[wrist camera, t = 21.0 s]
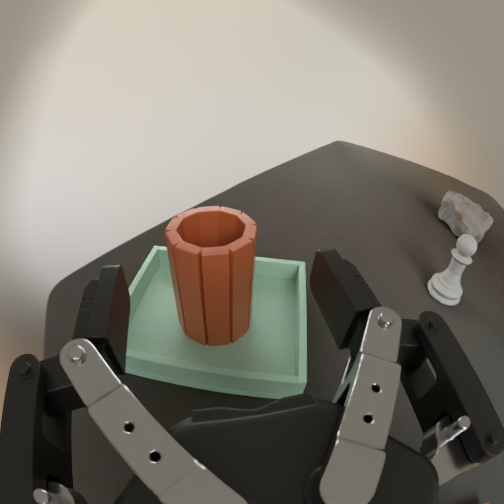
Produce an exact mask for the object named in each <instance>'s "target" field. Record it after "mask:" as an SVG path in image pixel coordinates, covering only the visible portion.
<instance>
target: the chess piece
mask: <svg viewBox="0 0 504 504" xmlns="http://www.w3.org/2000/svg"><path fill="white" fill-rule="evenodd" d="M456 246H457V249H456V248H455V249H452V250H451V253H452V256H453V257H452V260H451V262H450V265H449V267H448V268H447V269H446V270H445V271H444V272H441V273H435V274H434V275H433V276H432V279H430V280H429V281H428V290H429V293H430V295H431V296H432V297H433V298H434V299H435V300H436V301H437V302H439V303H441V304H443V305H446V306H453V305H456V304H458V303H459V301H460V296H461V295H462V293H463V290H462V287H461V284H460V278H461V274H462V272H463V270H464V269H465V267H466V265H468V264H471V263H472V259H471V257H470V256H472V255H473V254H474V253H475V252H476V250H477V241H476V240H475V238H474V237H473V236H471V235H469V234H462V235H461V236H460V237H459V238H458V240H457V244H456Z"/></svg>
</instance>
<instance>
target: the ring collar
mask: <svg viewBox="0 0 504 504" xmlns="http://www.w3.org/2000/svg"><path fill="white" fill-rule="evenodd" d="M165 236H166V244H167V251H168V258H169V265H170V271H171V278H172V284H173V290H174V296H175V302H176V307H177V313H178V318H179V323H180V325H181V327H182V329H183V331H184V333H185V335H186V336H187V335H188V338H190V339H192V340H194V341H196V342H198V343H200V344H203V345H205V346H206V345H207V343H208V345H209V346H218V345H228V344H230V341H231V342H232V343H234V342H235V341H236V340H238V339H239V338H240V337H242V336H243V335H244V334H245V333H247V330H249V326H250V320H251V312H252V298H253V284H254V269H255V255H256V240H257V225H256V223H255V222H254V221H253V220H252V219H251V218H250V217H249V216H248V215H247V214H246V213H242V211H239V210H235V209H231V208H227V207H221V208H220V207H219V206H211V207H197V210H196V209H191V210H188V211H186V212H184V213H181V214H179V215H177V216H176V218H173V219H172V220H171V222H170V223H169V225H168V226H167V228H166V229H165Z"/></svg>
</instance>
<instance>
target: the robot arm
mask: <svg viewBox="0 0 504 504" xmlns="http://www.w3.org/2000/svg"><path fill="white" fill-rule="evenodd" d="M310 288H311V291H312V294H313V296H314V298H315V300H316V302H317V304H318V306H319V308H320V310H321V312H322V314H323V316H324V318H325V321H326V323H327V325H328V327H329V329H330V331H331V333H332V335H333V338H334V340H335V342H336V344H337V346H338V348H339V350H340V349H344V348H349V349H350V351H351V352H350V354H349V357H348V360H347V363H346V366H345V369H344V372H343V375H342V378H341V381H340V384H339V387H338V390H337V393H336V395H335V397H334V399H333V401H332V402H331V401H327V400H322V399H314V397H313V394H312V391H311V392H307V393H302V394H297V395H292V396H287V397H283V398H281V399H279V400H276V401H274V402H272V403H269V404H267V405H265V406H262V407H260V408H258V409H239V408H229V407H214V408H204V409H193V410H191V417H190V418H187V419H185V420H183V421H180V422H178V423H177V424H175V425H174V426H172V427H171V428H170V429H168V430H167V431H166V430H165V429H164V428H163V427H162V426H161V425H160V424H159V423H158V422H157V421H156V420H155V418H154V417H153V416H152V415H151V414H150V413H149V412H148V411H147V410H146V409H145V407H144V406H143V405H142V404H141V403H140V402H139V401H138V399H137V398H136V397H135V396H134V395H133V393H132V392H131V391H130V390H129V389H128V388H127V386H126V385H125V384H124V383H121V381H120V380H119V379H118V378H117V375H123V374H125V367H126V351H127V338H128V327H129V316H130V294H129V290H128V287H127V283H126V280H125V276H124V272H123V268H122V266H121V265H112V266H103V267H102V270H101V274H100V278H99V279H95V280H92V281H91V282H90V283H89V284H88V286H87V287H86V288H85V291H84V294H83V298H82V302H81V305H80V309H79V313H78V317H77V322H76V326H75V330H74V335H73V339H72V341H70V342H68V343H67V344H66V345H65V346H64V347H63V348H62V350H61V352H60V355H58V356H56V357H52V358H49V359H46V360H43V361H39V360H38V359H37V358H36V356H34V355H32V354H24V355H21V356H19V357H18V358H16V359H15V361H14V362H13V363H12V365H11V368H10V372H9V377H8V382H7V387H6V393H5V399H4V406H3V413H2V421H1V430H0V504H87V502H86V500H85V498H84V497H83V496H82V495H81V494H80V493H79V492H77V491H75V490H74V489H73V476H72V455H71V418H72V410H76V409H79V408H82V407H87V408H86V409H87V411H88V412H89V414H90V416H91V417H92V418H93V420H94V421H95V423H96V424H97V426H98V427H99V428H100V430H101V431H102V433H103V434H104V435H105V437H106V438H107V439H108V441H109V442H110V443H111V444H112V446H113V447H114V448H115V450H116V451H117V452H118V453H119V455H120V456H121V457H122V458H123V459H124V461H125V462H126V463H127V464H128V465H129V467H130V468H131V469H132V470H133V471H134V472H135V474H134V476H133V477H132V478H131V480H130V481H129V482H128V484H127V485H126V486H125V488H124V489H123V491H122V492H121V493H120V495H119V496H118V497H117V499H116V500H115V501H114V503H113V504H437V499H438V490H439V486H440V485H442V484H444V483H445V482H447V481H449V480H450V479H453V478H455V477H457V476H459V475H461V474H463V473H465V472H467V471H469V470H471V469H473V468H475V467H477V466H479V465H481V464H482V463H484V462H486V461H488V460H489V459H491V458H493V457H495V456H496V455H498V454H499V453H501V452H502V450H503V449H504V428H503V426H502V424H501V422H500V419H499V417H498V415H497V413H496V411H495V409H494V407H493V405H492V403H491V401H490V399H489V397H488V395H487V393H486V391H485V389H484V387H483V385H482V383H481V381H480V380H479V378H478V376H477V374H476V372H475V370H474V369H473V367H472V365H471V363H470V362H469V360H468V358H467V356H466V355H465V353H464V351H463V350H462V348H461V346H460V345H459V343H458V341H457V340H456V338H455V336H454V335H453V333H452V332H451V330H450V328H449V327H448V325H447V324H446V322H445V321H444V319H443V318H442V317H441V316H440V315H438V314H437V313H435V312H431V311H425V312H422V313H421V314H420V316H419V317H418V319H417V320H411V319H401V318H400V317H399V315H398V314H397V313H396V312H395V311H393V310H391V309H389V308H386V307H382V306H381V305H380V303H379V302H378V300H377V298H376V297H375V295H374V294H373V292H372V291H371V289H370V288H369V286H368V285H367V283H365V280H364V279H363V277H361V274H360V273H359V271H358V270H357V268H356V267H355V266H354V265H353V264H351V263H350V262H349V261H347V260H342V258H341V257H340V255H339V254H338V252H337V251H336V250H335V249H326V250H317V252H316V254H315V258H314V262H313V267H312V271H311V275H310ZM427 358H428V359H429V360H430V362H431V364H432V366H433V368H434V370H435V372H436V377H437V378H436V380H435V378H434V376H433V374H432V372H431V370H430V368H429V366H428V364H427V362H426V359H427ZM399 380H401V382H402V384H403V387H404V389H405V391H406V393H407V396H408V398H409V400H410V402H411V405H412V407H413V409H414V412H415V414H416V416H417V419H418V421H419V424H420V426H421V428H422V431H423V433H424V435H423V437H422V445H421V447H420V453H419V452H417V451H415V450H413V449H412V448H410V447H408V446H406V445H405V444H403V443H401V442H400V441H398V440H396V439H394V438H393V437H391V436H389V435H388V433H389V429H390V425H391V421H392V416H393V412H394V407H395V402H396V397H397V392H398V386H399Z"/></svg>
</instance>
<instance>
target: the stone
mask: <svg viewBox="0 0 504 504" xmlns="http://www.w3.org/2000/svg"><path fill="white" fill-rule="evenodd" d="M438 217H439V219H441V220H443V221H444V222H445V223H446V224H448V225H449V227H450V228H451V231H452V232H453V233H454V234H455V236H457V237H460V236H461V235H462V234H469V235H471V236H473V237H474V238H475V240H476V241H477V243H478V242H480V241H481V239H482V238H483V236H484V233H485V232H486V231H487V230H488V229H489V228H490V226H491V224H492V223H493V218H492V217H491V216H490V215H489V214H488V213H486V212H484V211H483V210H482V208H481V206H480V205H479V204H476V203H473V202H472V201H471V200H470V199H469V198H466V197H465V196H464V195H462V194H460V193H455V192H453V191H448V192H447V193H446V194H445V196H444V198H443V199H442V201H441V208H440V209H439V211H438Z"/></svg>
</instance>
